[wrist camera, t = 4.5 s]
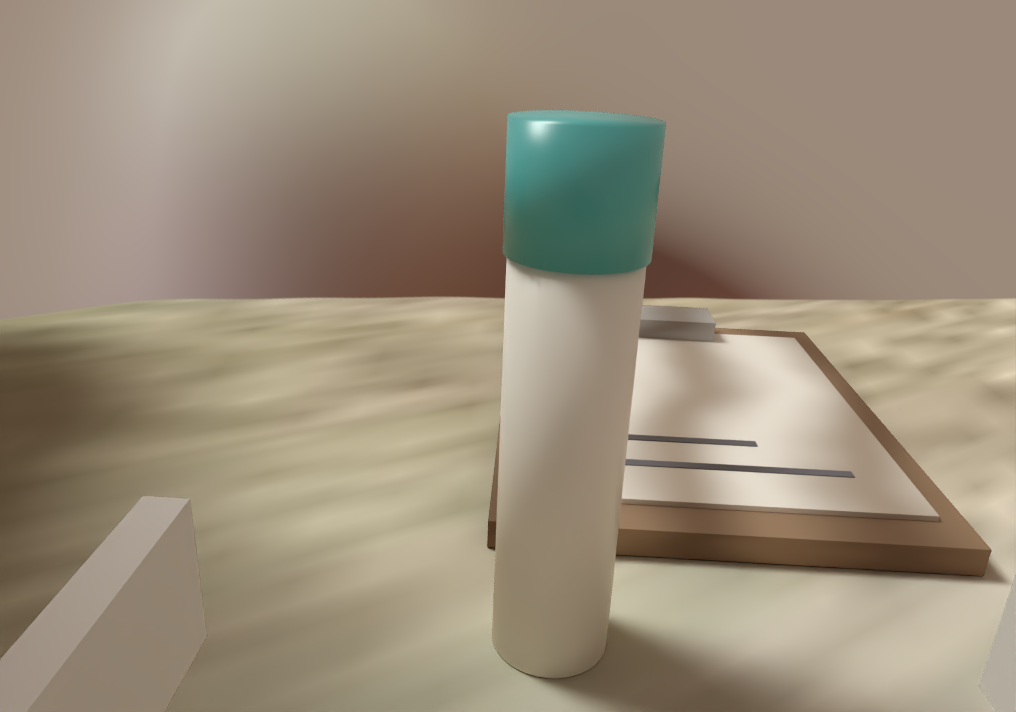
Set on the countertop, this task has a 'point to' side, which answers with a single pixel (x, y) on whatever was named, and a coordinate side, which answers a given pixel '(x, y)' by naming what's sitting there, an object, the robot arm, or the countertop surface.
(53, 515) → the countertop surface
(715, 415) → the clipboard
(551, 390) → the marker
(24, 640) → the robot arm
